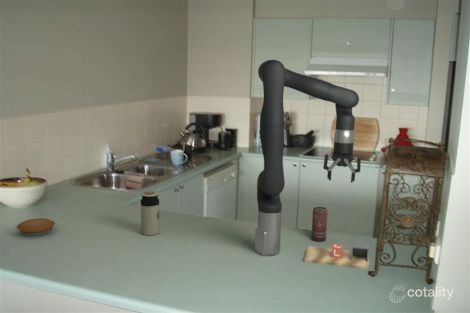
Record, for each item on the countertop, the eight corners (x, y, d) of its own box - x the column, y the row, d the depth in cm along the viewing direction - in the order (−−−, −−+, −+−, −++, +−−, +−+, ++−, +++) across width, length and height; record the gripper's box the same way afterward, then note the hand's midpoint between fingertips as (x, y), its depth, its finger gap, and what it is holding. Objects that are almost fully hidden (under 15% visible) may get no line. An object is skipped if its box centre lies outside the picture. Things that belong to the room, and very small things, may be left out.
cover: (350, 260, 183) (351, 246, 182) (350, 254, 189) (351, 241, 188) (368, 262, 182) (369, 248, 181) (367, 256, 187) (368, 242, 186)
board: (303, 261, 184) (304, 259, 183) (307, 248, 197) (307, 246, 197) (369, 269, 178) (369, 266, 178) (368, 255, 191) (368, 252, 191)
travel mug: (137, 234, 210) (136, 194, 207) (147, 228, 217) (146, 190, 214) (153, 236, 207) (152, 196, 204) (162, 231, 214) (162, 192, 211)
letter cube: (331, 257, 185) (332, 247, 185) (332, 253, 189) (332, 243, 189) (342, 258, 184) (342, 248, 184) (342, 254, 188) (343, 244, 188)
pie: (55, 236, 206) (55, 225, 205) (16, 240, 200) (15, 229, 200) (55, 225, 220) (54, 214, 219) (18, 229, 215) (17, 218, 214)
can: (326, 242, 204) (328, 211, 201) (311, 241, 205) (312, 209, 202) (326, 237, 210) (328, 206, 207) (311, 236, 211) (313, 205, 208)
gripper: (324, 140, 187) (321, 181, 190) (362, 143, 183) (359, 185, 186) (326, 138, 194) (323, 177, 197) (362, 140, 190) (359, 180, 193)
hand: (340, 181), depth 191 cm, fingers open, 8 cm apart
